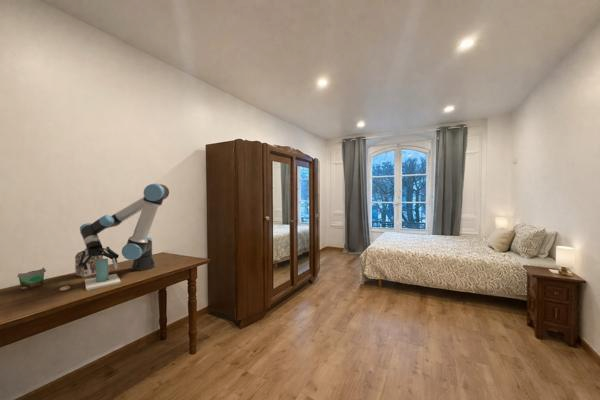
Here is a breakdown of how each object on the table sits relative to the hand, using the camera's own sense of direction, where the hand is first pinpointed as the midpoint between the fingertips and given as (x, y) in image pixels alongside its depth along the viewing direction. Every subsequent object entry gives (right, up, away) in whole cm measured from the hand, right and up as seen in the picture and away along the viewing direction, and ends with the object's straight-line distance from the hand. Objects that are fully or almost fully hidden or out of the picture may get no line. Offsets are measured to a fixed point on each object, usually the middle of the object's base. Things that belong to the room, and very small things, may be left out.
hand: (103, 270), depth 150 cm
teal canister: (-2, -7, +1) cm, 7 cm away
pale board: (-2, -8, +1) cm, 8 cm away
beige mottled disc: (-15, -9, -9) cm, 20 cm away
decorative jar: (-25, -8, +18) cm, 32 cm away
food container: (-37, -9, -5) cm, 38 cm away
